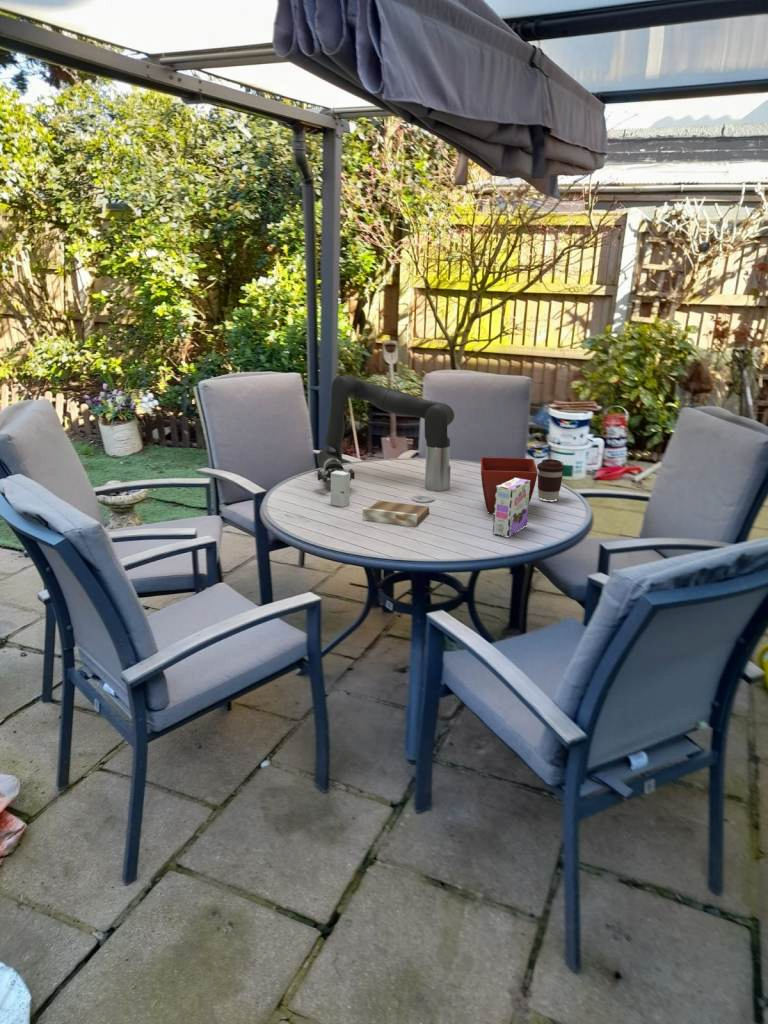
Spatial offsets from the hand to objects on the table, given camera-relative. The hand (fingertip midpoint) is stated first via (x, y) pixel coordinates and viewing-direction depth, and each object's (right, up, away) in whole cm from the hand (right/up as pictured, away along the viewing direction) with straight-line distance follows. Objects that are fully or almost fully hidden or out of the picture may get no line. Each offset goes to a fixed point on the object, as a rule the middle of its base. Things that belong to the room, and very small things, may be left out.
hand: (337, 479), depth 253 cm
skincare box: (+2, -10, -8) cm, 12 cm away
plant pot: (+61, -11, -11) cm, 63 cm away
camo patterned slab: (+22, -14, -20) cm, 33 cm away
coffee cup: (+79, -8, 0) cm, 80 cm away
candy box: (+59, -19, -33) cm, 70 cm away
